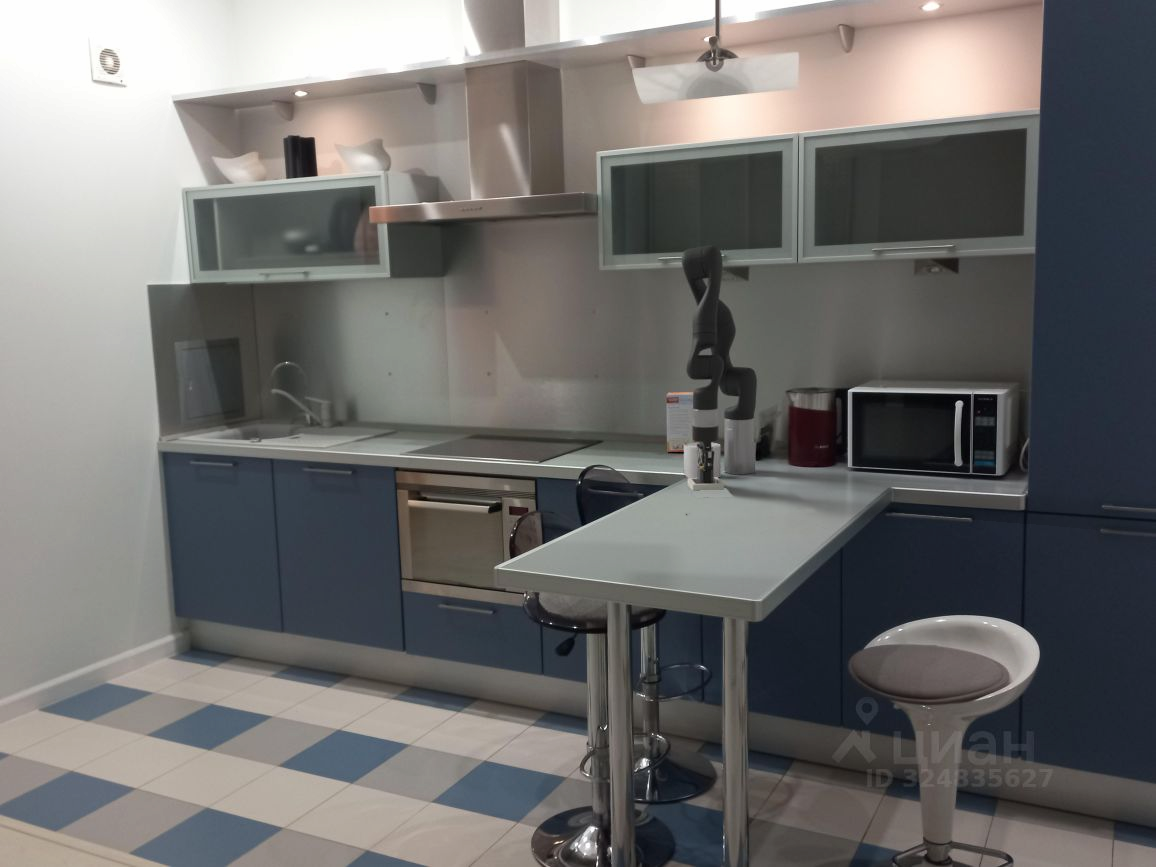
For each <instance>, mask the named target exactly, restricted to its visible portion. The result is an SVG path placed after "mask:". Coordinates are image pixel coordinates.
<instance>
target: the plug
mask: <svg viewBox="0 0 1156 867" xmlns="http://www.w3.org/2000/svg"><path fill="white" fill-rule="evenodd" d="M713 480H714V469H713V470H712V471H711V483H713ZM697 484H704V483H703V466H697Z"/></svg>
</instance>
